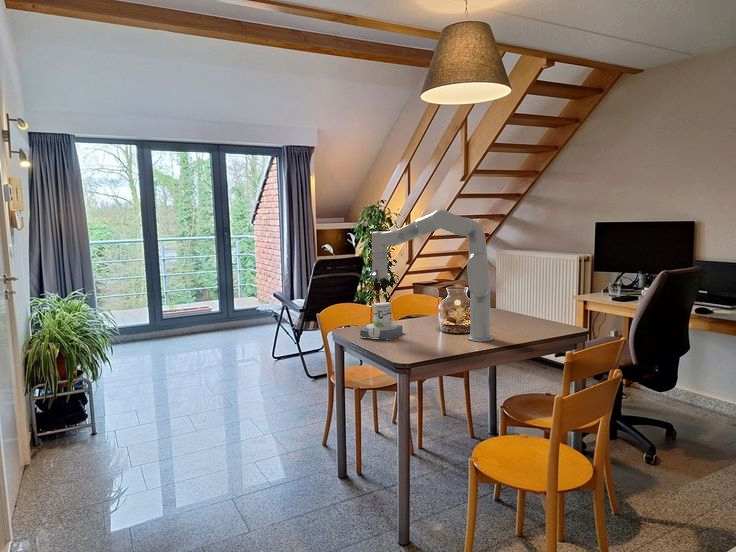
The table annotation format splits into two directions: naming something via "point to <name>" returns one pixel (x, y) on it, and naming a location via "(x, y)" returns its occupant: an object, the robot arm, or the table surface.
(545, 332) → the table surface
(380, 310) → the ink box
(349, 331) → the table surface
